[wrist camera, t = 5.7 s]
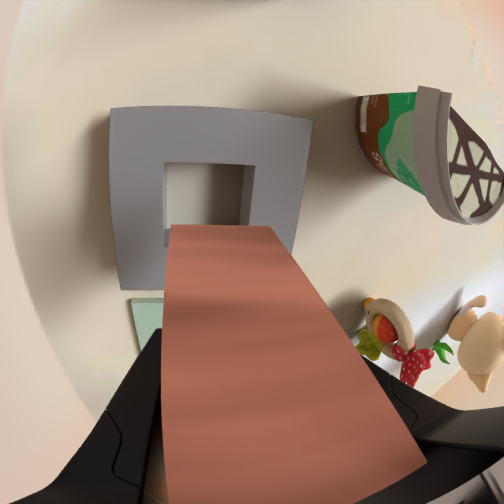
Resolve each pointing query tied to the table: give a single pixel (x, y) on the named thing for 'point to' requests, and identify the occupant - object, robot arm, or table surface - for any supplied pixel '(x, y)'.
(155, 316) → the board
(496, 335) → the kitten
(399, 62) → the table surface
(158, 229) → the pocket block
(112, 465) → the robot arm
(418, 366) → the bird rattle
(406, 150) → the food container
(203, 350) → the peg
